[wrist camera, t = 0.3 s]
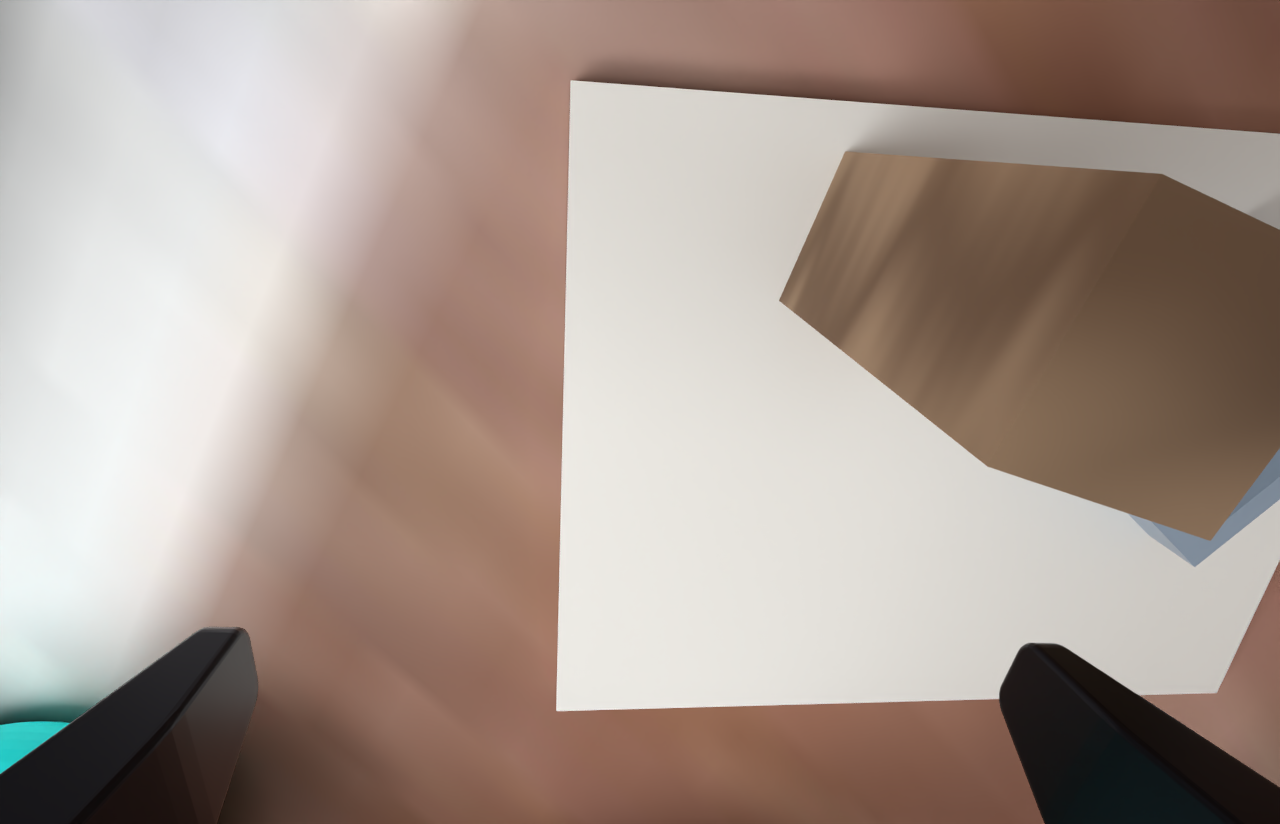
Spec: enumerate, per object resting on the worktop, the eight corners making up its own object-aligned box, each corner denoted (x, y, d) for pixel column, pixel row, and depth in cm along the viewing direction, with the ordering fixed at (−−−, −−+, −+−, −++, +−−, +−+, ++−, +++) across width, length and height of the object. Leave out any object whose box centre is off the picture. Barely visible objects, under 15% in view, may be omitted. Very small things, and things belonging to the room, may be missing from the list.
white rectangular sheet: (1196, 675, 29) (1216, 693, 29) (556, 690, 26) (556, 711, 25) (1436, 147, 22) (1474, 148, 21) (570, 82, 19) (570, 80, 18)
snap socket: (1148, 535, 25) (1194, 567, 23) (1026, 408, 23) (1066, 432, 21) (1338, 378, 23) (1404, 399, 22) (1228, 222, 21) (1292, 231, 19)
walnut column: (905, 346, 21) (1210, 540, 11) (778, 300, 20) (987, 466, 10) (977, 208, 20) (1400, 286, 10) (844, 151, 19) (1161, 174, 9)
